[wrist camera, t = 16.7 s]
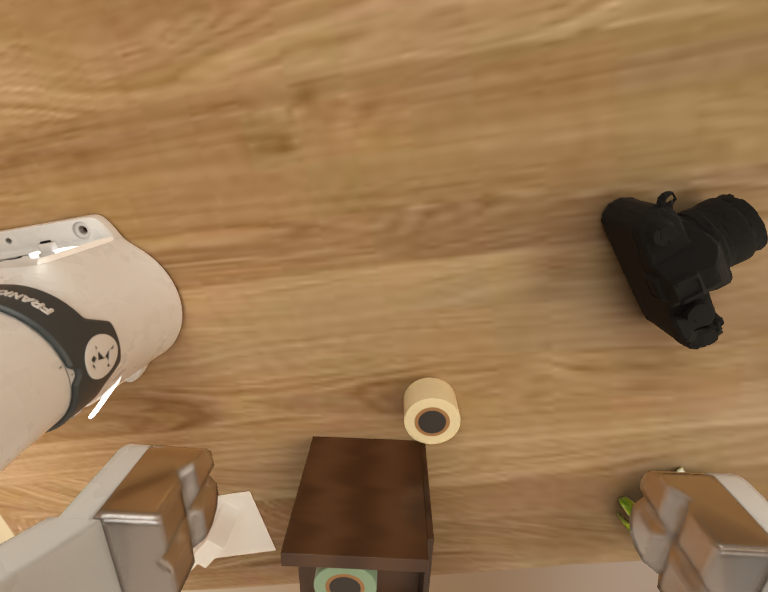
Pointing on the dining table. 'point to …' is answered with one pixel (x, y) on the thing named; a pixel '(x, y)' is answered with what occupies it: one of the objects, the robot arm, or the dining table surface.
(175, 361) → the dining table surface
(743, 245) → the film camera
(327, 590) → the sage tape roll
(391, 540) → the shelf
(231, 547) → the napkin holder
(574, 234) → the dining table surface
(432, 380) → the cream tape roll
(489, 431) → the dining table surface
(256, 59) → the dining table surface
